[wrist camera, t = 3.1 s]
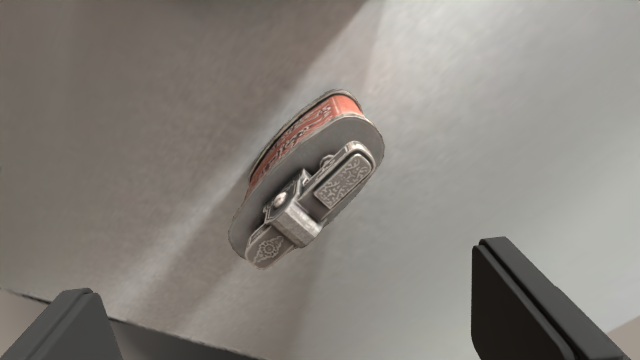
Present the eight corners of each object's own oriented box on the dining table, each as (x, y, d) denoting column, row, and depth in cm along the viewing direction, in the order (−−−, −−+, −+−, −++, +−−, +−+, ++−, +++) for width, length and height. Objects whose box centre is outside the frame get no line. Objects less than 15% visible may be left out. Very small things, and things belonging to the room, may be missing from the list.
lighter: (278, 209, 25) (262, 316, 16) (236, 173, 25) (194, 264, 15) (374, 117, 24) (419, 177, 14) (333, 74, 23) (352, 108, 13)
